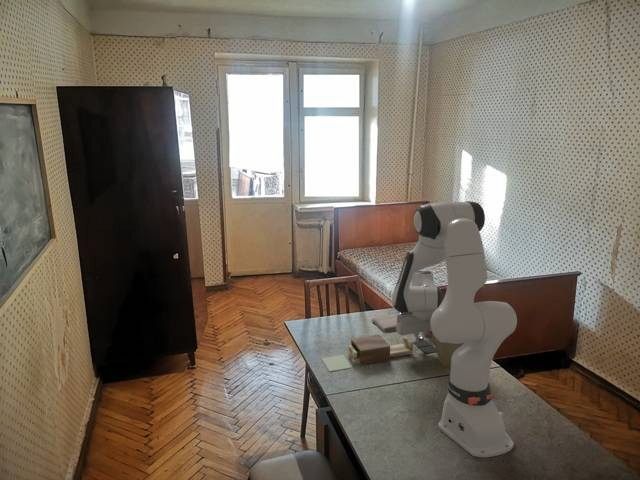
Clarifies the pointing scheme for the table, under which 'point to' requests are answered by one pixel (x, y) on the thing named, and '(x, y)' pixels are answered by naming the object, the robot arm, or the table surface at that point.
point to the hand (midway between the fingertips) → (419, 341)
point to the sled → (394, 350)
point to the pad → (336, 363)
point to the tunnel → (372, 349)
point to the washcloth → (386, 322)
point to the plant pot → (445, 352)
